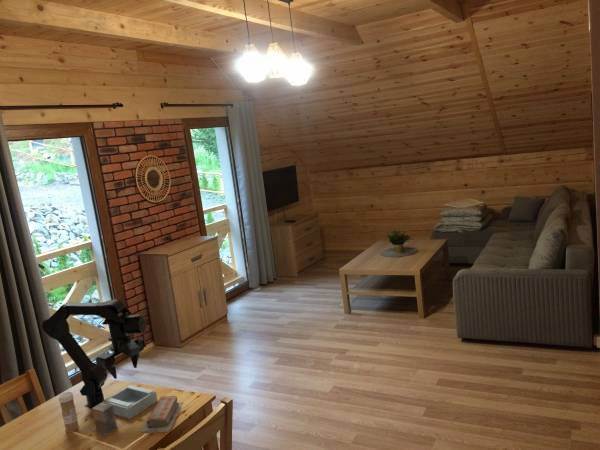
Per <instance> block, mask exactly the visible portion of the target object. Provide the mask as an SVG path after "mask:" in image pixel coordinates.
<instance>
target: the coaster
mask: <svg viewBox="0 0 600 450" xmlns="http://www.w3.org/2000/svg"><path fill="white" fill-rule="evenodd" d="M116 424H117V427H116V428H114V429H113V430H111V431H109V432H108V433H106V432H103V431H100V430H97V429H96V428H95V429H93V430H92V431H91V432H92V433H96V434H98V435H100V436H107V435H108V434H110V433H112V432H113V431H114V430H116V429H118V428H119V427H121V426H122V424H120V423H117V422H116Z"/></svg>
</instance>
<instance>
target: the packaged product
mask: <svg viewBox="0 0 600 450" xmlns="http://www.w3.org/2000/svg"><path fill="white" fill-rule="evenodd" d="M183 404H184V402H178V397H177V396H175V395H168V396H167V395H166V396H161V397H160V398H159V399H158V400H157V402H156V404H155V406H154V408H153V409H152V411H151V412H150V413H149V416H148V417H147V419H146V421H145V423H144V425H143V426H142V428H141V430H140V432H141V433H145V434H154V433H167V432H168V433H169V432H171V429H172V426H173V425H174V423H175V422H176V419H177V418H178V415H179V413H180V411H181V408H182V405H183Z"/></svg>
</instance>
